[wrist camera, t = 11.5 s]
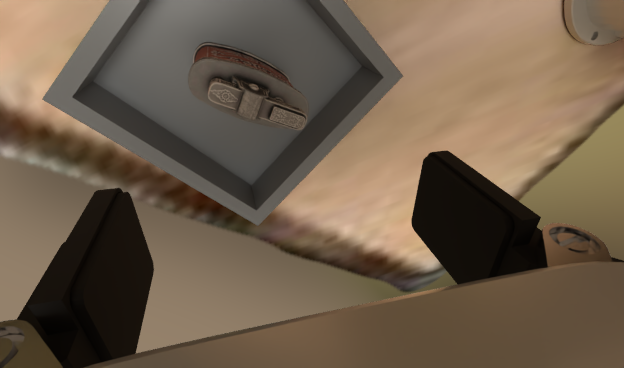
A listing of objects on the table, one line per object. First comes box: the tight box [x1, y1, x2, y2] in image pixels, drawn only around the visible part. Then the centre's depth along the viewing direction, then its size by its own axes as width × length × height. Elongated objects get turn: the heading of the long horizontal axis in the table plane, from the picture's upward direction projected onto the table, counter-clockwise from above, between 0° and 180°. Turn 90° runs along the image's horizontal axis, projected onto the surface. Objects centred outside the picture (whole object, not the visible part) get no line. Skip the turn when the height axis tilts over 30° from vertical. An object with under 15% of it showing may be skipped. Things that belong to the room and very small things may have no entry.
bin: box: [43, 0, 403, 225], centre depth 26 cm, size 18×18×6 cm
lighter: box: [188, 42, 309, 130], centre depth 24 cm, size 8×3×10 cm, turn 66°
